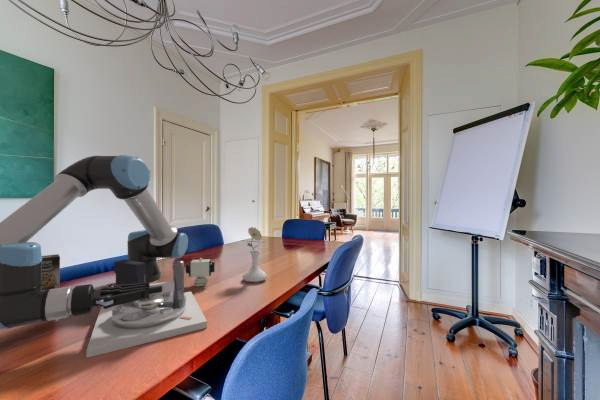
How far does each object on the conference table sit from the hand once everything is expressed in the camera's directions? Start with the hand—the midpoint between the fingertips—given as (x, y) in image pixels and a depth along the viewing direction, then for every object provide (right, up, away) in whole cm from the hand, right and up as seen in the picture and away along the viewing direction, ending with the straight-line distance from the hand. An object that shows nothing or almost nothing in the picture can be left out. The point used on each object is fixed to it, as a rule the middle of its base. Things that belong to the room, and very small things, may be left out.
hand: (174, 285), depth 78 cm
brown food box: (-58, -11, +18) cm, 62 cm away
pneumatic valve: (-6, -12, +36) cm, 38 cm away
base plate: (-9, -12, +3) cm, 15 cm away
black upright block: (-24, -12, +16) cm, 31 cm away
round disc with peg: (-9, -9, +3) cm, 13 cm away
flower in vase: (+17, -12, +44) cm, 48 cm away
